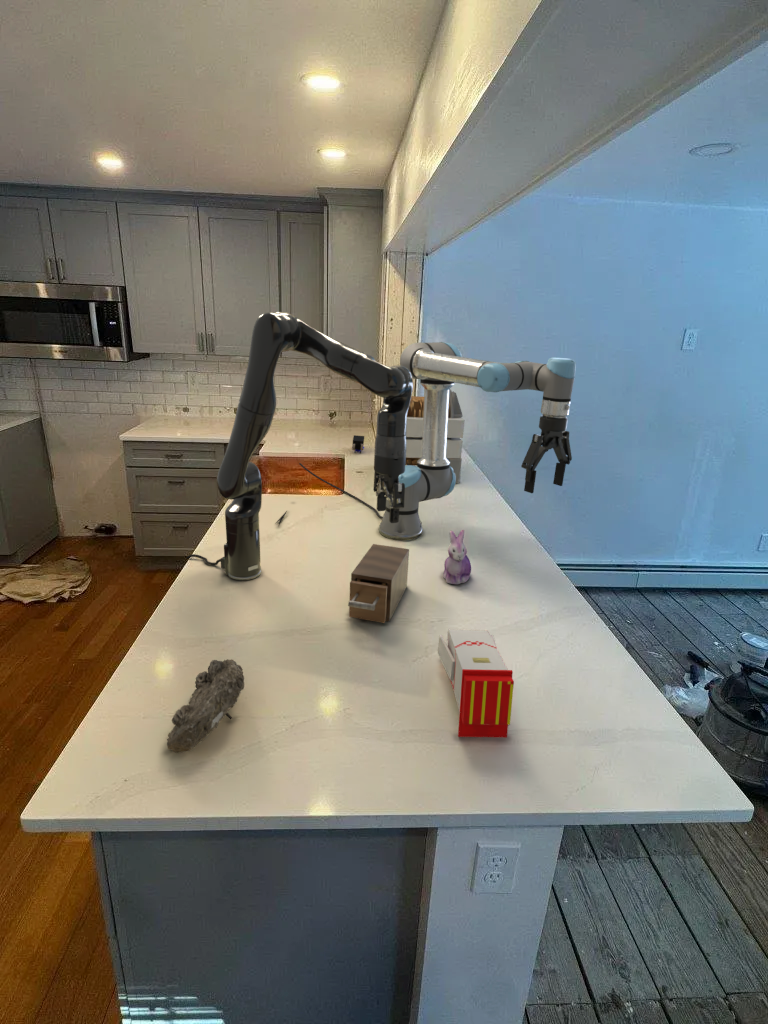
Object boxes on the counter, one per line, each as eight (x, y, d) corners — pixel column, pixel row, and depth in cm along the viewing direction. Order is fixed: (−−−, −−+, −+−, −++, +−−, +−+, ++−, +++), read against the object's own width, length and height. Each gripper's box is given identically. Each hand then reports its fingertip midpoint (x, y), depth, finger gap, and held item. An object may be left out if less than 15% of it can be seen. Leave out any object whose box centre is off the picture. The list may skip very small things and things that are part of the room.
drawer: (378, 634, 136) (380, 598, 133) (341, 628, 138) (342, 592, 135) (401, 589, 158) (403, 558, 155) (369, 584, 160) (370, 553, 157)
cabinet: (389, 621, 144) (391, 579, 140) (350, 614, 146) (351, 573, 142) (406, 586, 162) (409, 549, 158) (371, 581, 164) (373, 543, 160)
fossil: (192, 660, 117) (244, 628, 112) (224, 691, 120) (276, 661, 115) (142, 746, 98) (202, 712, 93) (182, 779, 101) (242, 748, 96)
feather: (294, 505, 227) (296, 501, 226) (277, 528, 200) (280, 524, 199) (290, 503, 226) (292, 499, 226) (273, 526, 200) (276, 521, 199)
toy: (488, 613, 130) (523, 677, 101) (484, 667, 133) (517, 744, 104) (435, 612, 130) (455, 676, 101) (432, 666, 133) (451, 743, 103)
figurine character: (364, 456, 305) (364, 447, 319) (364, 443, 302) (364, 434, 315) (351, 456, 305) (352, 446, 318) (351, 443, 302) (352, 434, 315)
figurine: (453, 588, 162) (457, 540, 157) (434, 573, 170) (437, 527, 165) (479, 582, 166) (485, 535, 161) (459, 568, 175) (464, 523, 170)
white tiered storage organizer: (382, 463, 289) (386, 382, 275) (445, 464, 293) (451, 384, 279) (390, 482, 257) (394, 392, 243) (460, 483, 261) (468, 394, 247)
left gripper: (365, 446, 139) (363, 508, 145) (386, 460, 127) (383, 528, 132) (393, 444, 142) (390, 505, 148) (417, 459, 130) (412, 525, 135)
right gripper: (537, 421, 148) (526, 498, 155) (591, 414, 162) (579, 485, 170) (514, 416, 153) (505, 491, 160) (569, 410, 168) (558, 478, 175)
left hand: (387, 516), depth 140 cm, fingers open, 8 cm apart
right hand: (543, 488), depth 165 cm, fingers open, 13 cm apart
